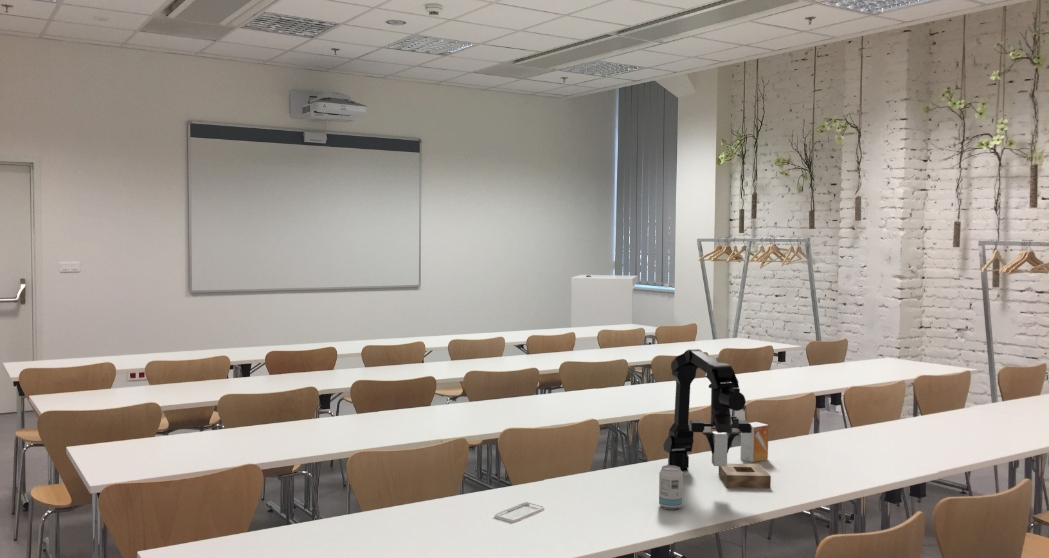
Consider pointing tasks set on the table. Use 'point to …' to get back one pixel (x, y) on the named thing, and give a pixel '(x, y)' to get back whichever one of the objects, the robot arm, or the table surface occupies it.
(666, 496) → the beverage can
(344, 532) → the table surface
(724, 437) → the grey metal peg
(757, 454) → the small box
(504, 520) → the phone case
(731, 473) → the walnut socket block
